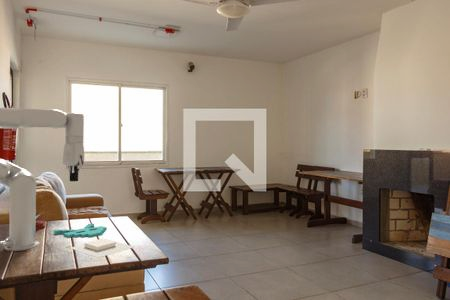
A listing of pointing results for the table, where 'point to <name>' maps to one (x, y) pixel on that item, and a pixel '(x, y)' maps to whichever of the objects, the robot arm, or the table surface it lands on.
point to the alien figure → (82, 231)
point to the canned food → (40, 223)
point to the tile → (100, 244)
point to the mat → (103, 252)
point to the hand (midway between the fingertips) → (73, 181)
